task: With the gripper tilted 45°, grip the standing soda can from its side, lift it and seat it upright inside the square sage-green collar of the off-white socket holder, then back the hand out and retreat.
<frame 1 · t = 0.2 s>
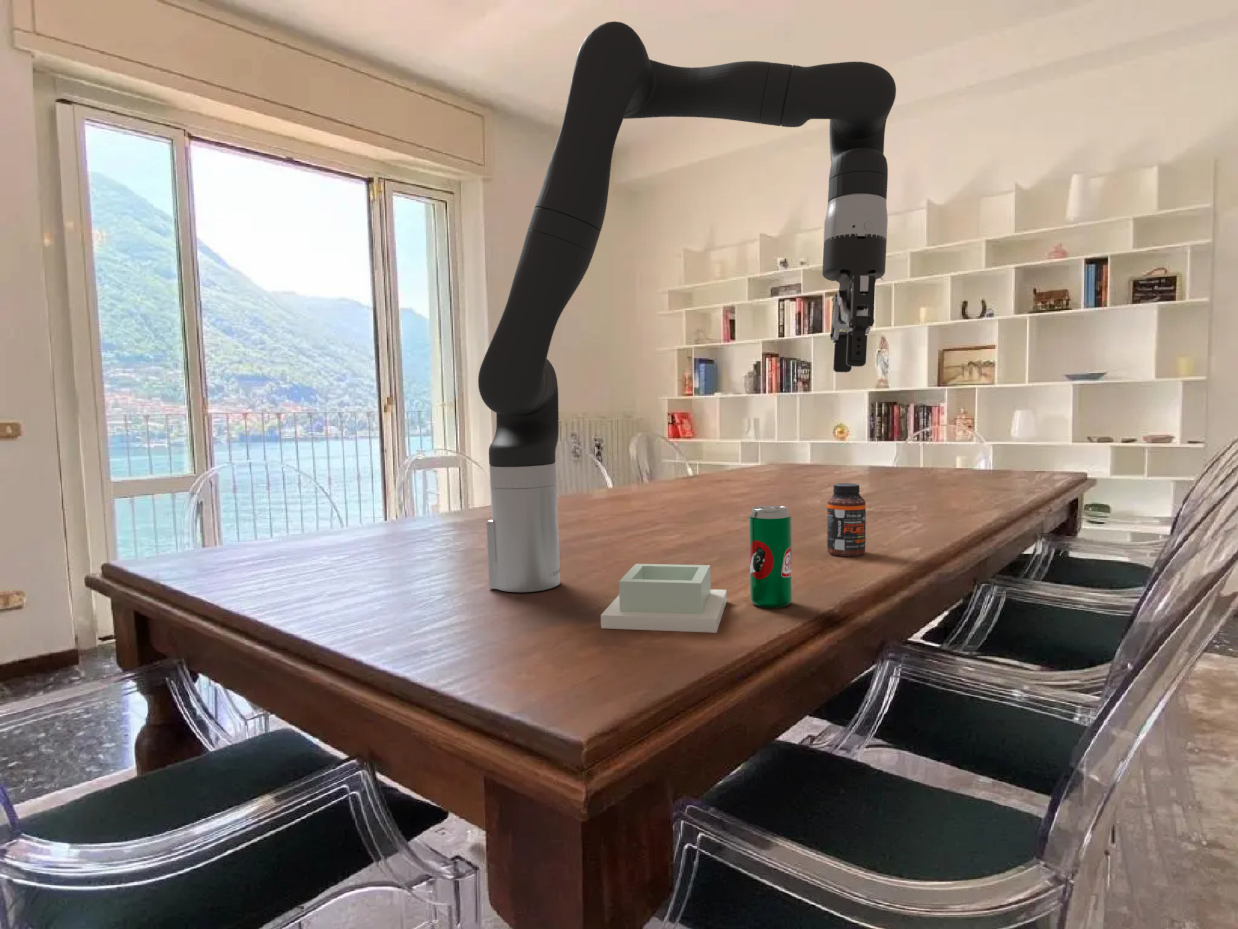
hand: (848, 369, 95), 29 cm above the table, tool pointing down, fingers open, 8 cm apart
soda can: (771, 605, 93), on the table
socket holder: (667, 614, 90), on the table
supplement bottle: (846, 555, 121), on the table
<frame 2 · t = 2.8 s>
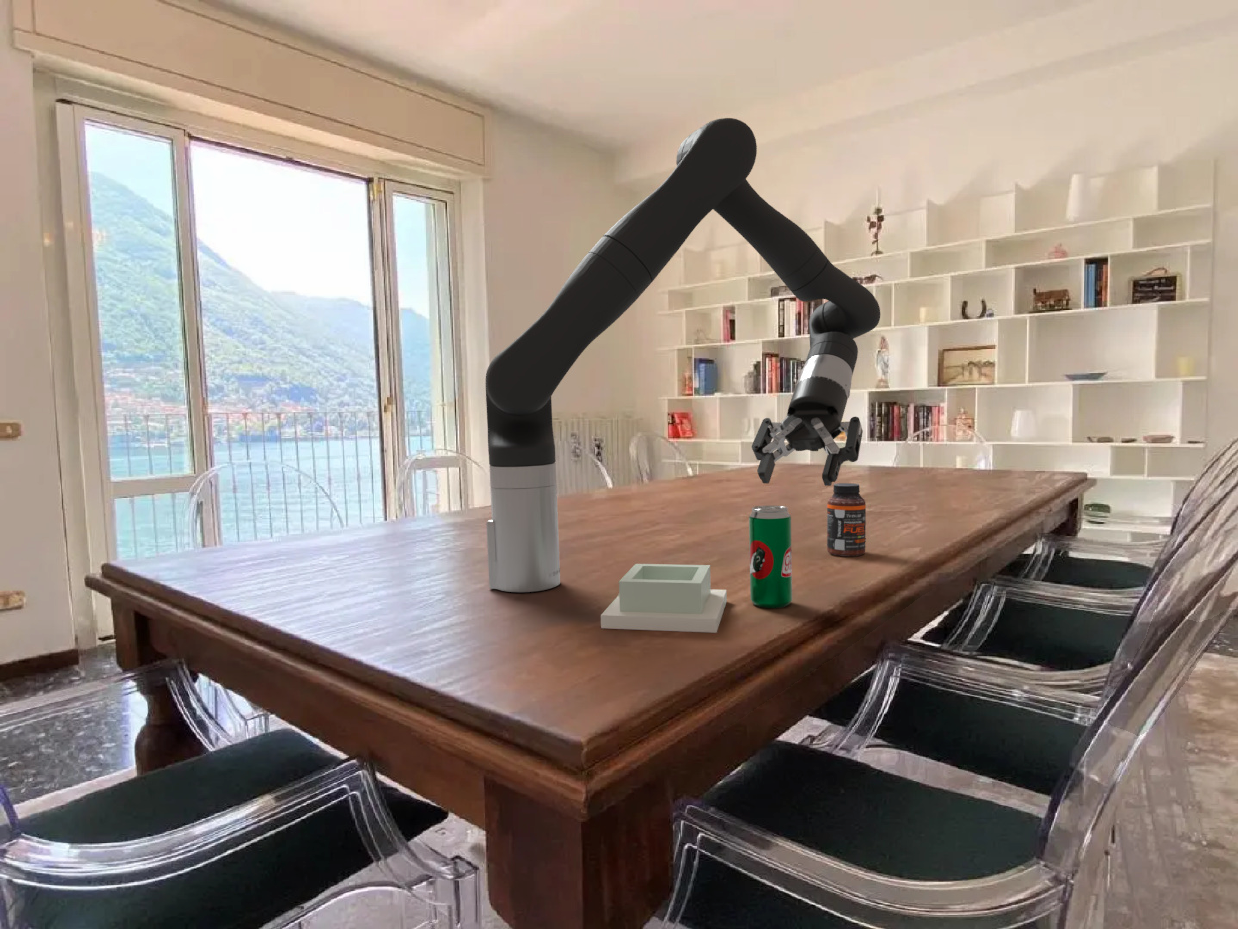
hand: (794, 480, 99), 14 cm above the table, tool tilted 45°, fingers open, 8 cm apart
nothing on the table moved.
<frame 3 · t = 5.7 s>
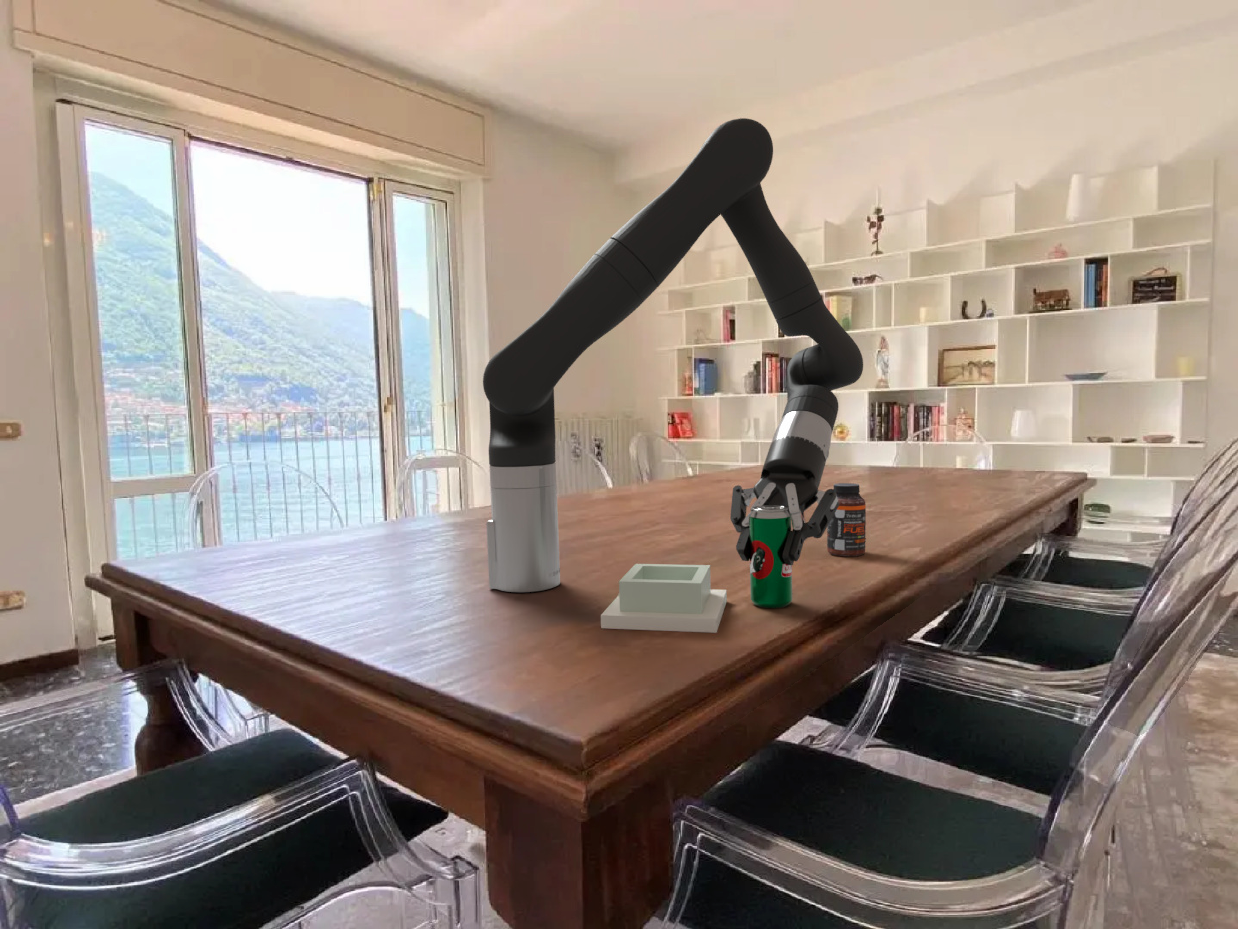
hand: (765, 559, 91), 6 cm above the table, tool tilted 45°, fingers closed on soda can, 5 cm apart
soda can: (771, 605, 93), on the table, touching gripper
everything else where it was.
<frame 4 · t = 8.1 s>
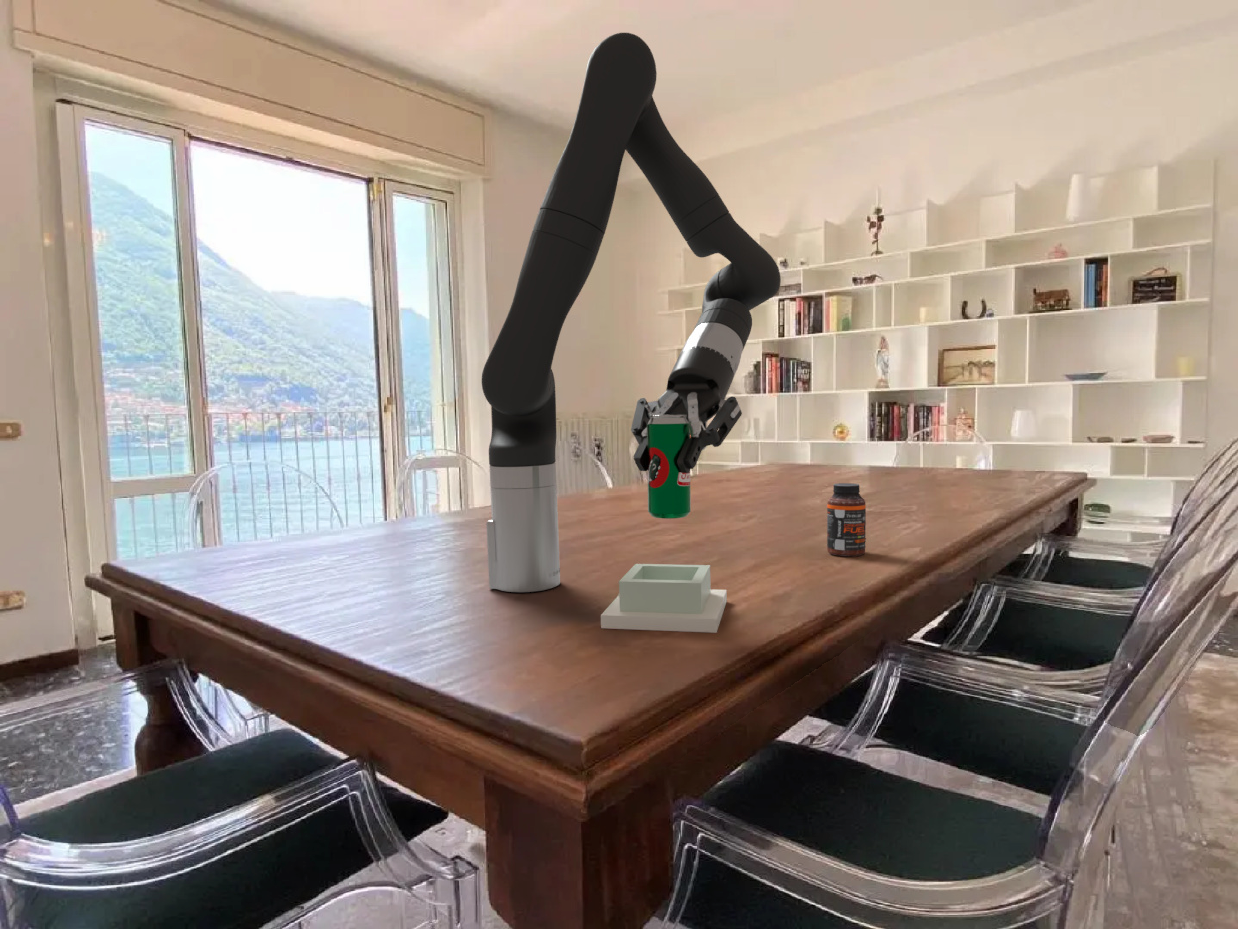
hand: (661, 467, 87), 18 cm above the table, tool tilted 45°, fingers closed on soda can, 5 cm apart
soda can: (669, 517, 89), point 12 cm above the table, touching gripper
everything else where it was.
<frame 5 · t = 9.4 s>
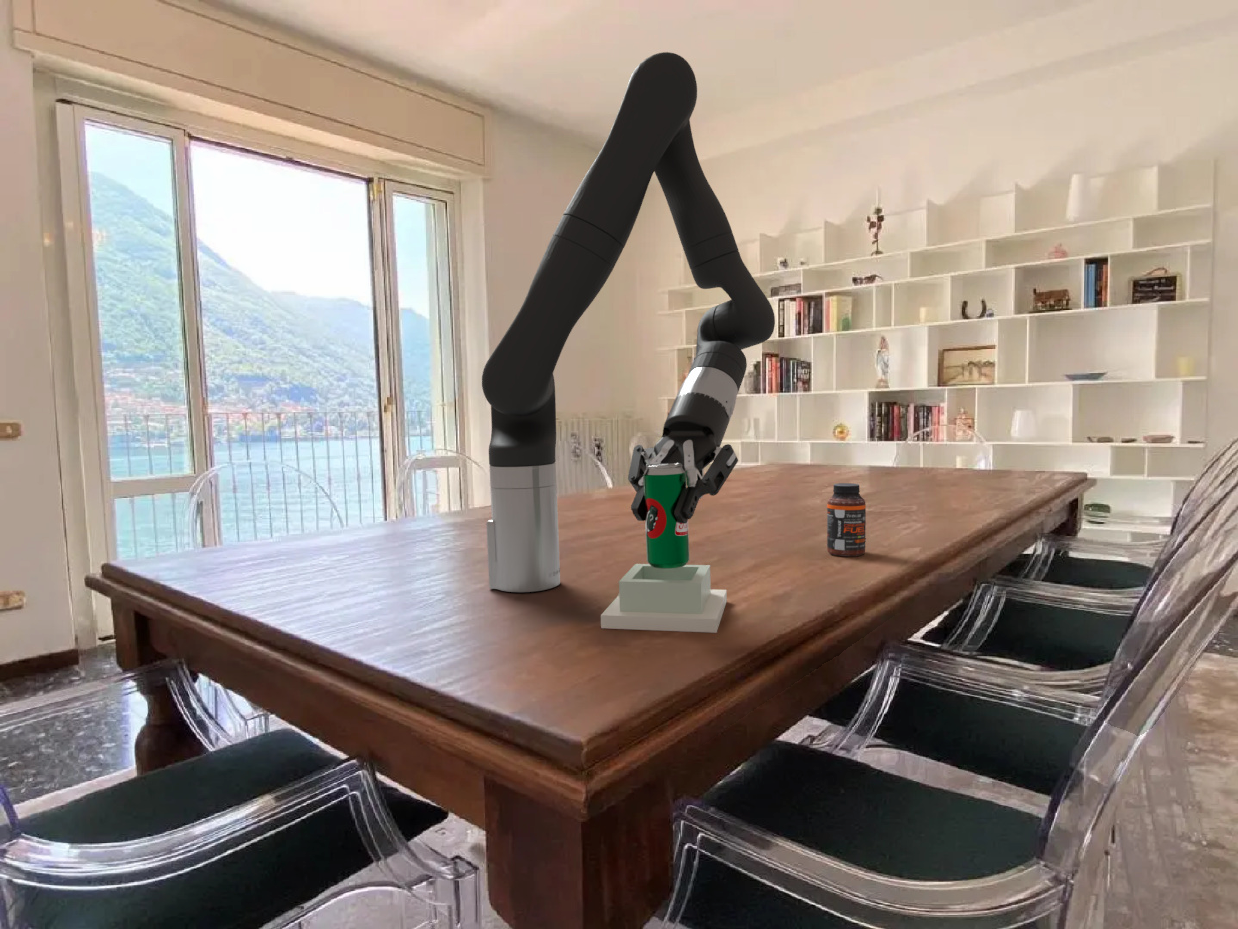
hand: (658, 517, 87), 12 cm above the table, tool tilted 45°, fingers closed on soda can, 5 cm apart
soda can: (668, 566, 89), point 6 cm above the table, touching gripper
everything else where it was.
when the fingers open (9 cm above the table, at t = 10.5 s): soda can stays where it is, resting on socket holder.
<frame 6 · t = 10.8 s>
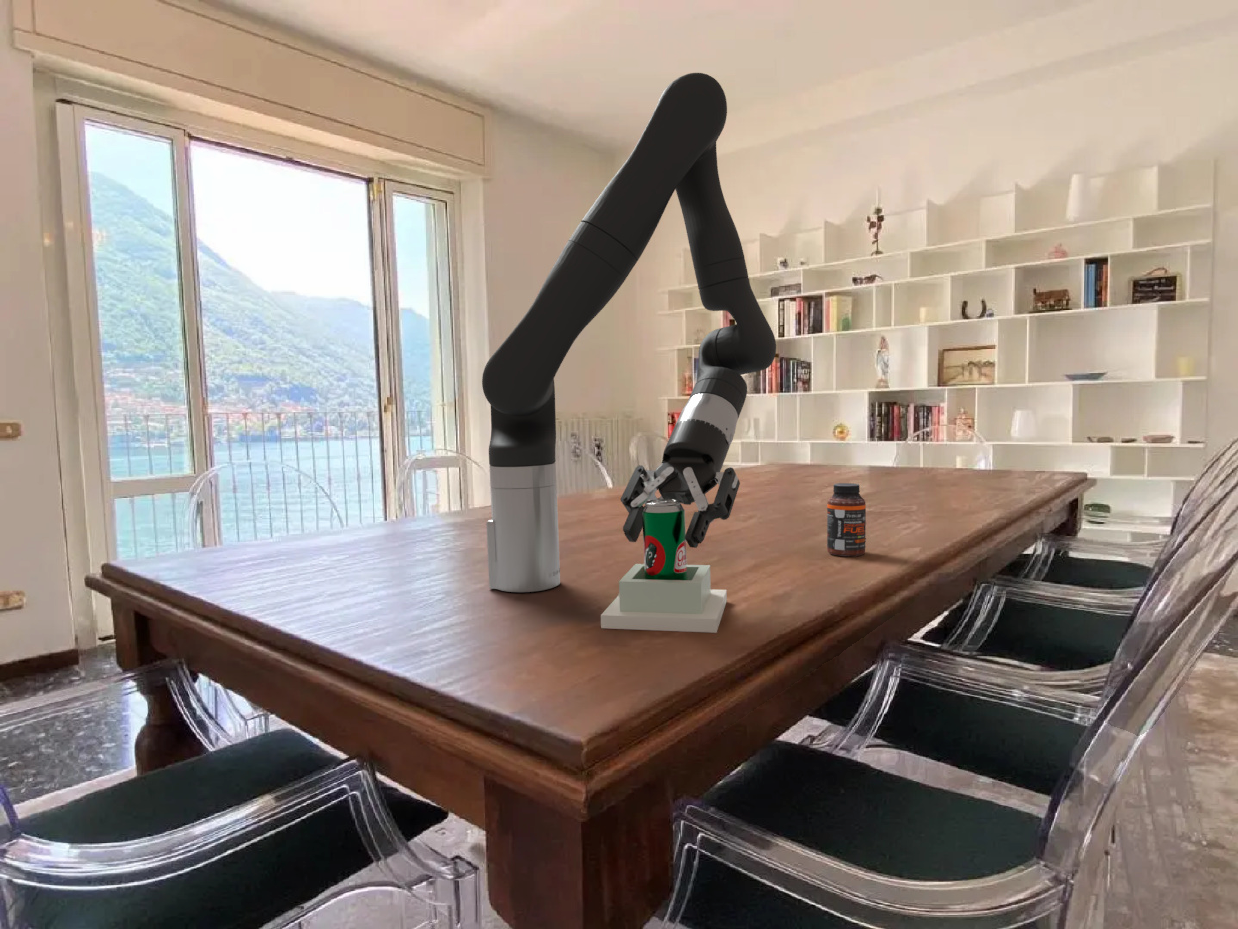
hand: (659, 540, 88), 9 cm above the table, tool tilted 45°, fingers open, 8 cm apart
soda can: (667, 602, 90), point 1 cm above the table, touching socket holder
everything else where it was.
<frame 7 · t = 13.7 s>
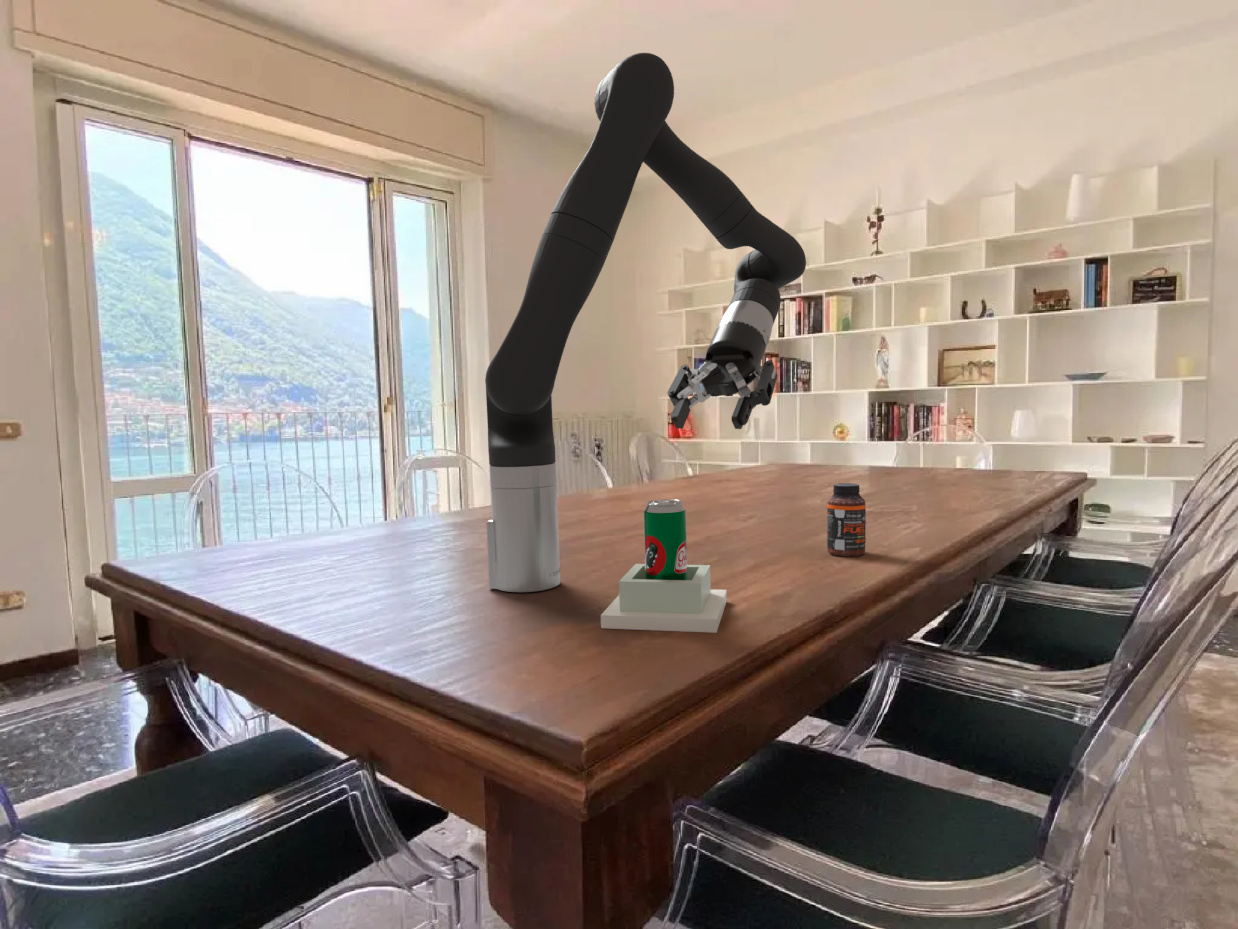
hand: (705, 424, 98), 22 cm above the table, tool tilted 45°, fingers open, 8 cm apart
nothing on the table moved.
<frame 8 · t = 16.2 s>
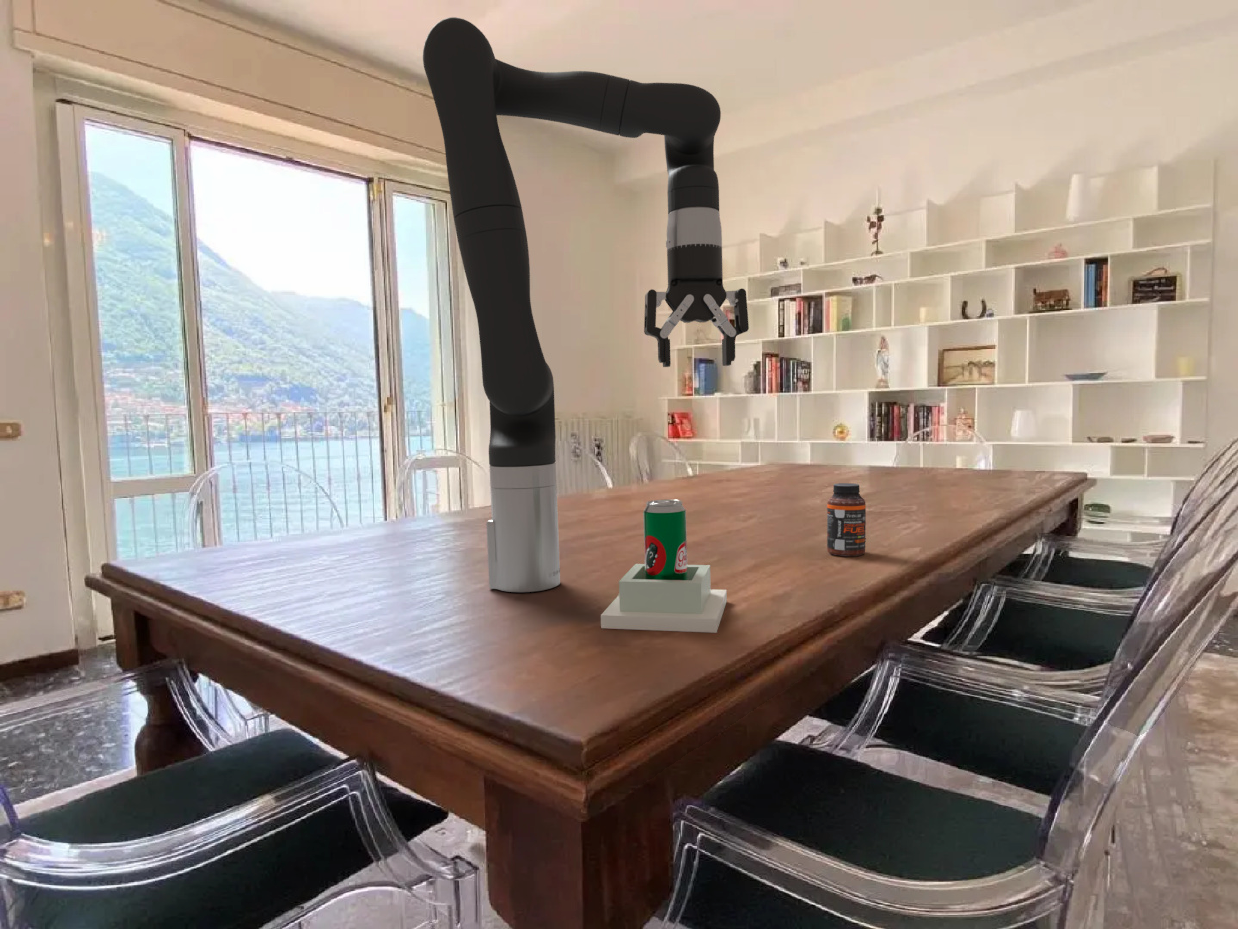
hand: (697, 366, 104), 30 cm above the table, tool pointing down, fingers open, 8 cm apart
nothing on the table moved.
at the end: soda can 0.2 cm off-centre on the socket holder, point 1.3 cm above the socket holder's base; soda can tilted 0°; the gripper is holding nothing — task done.
